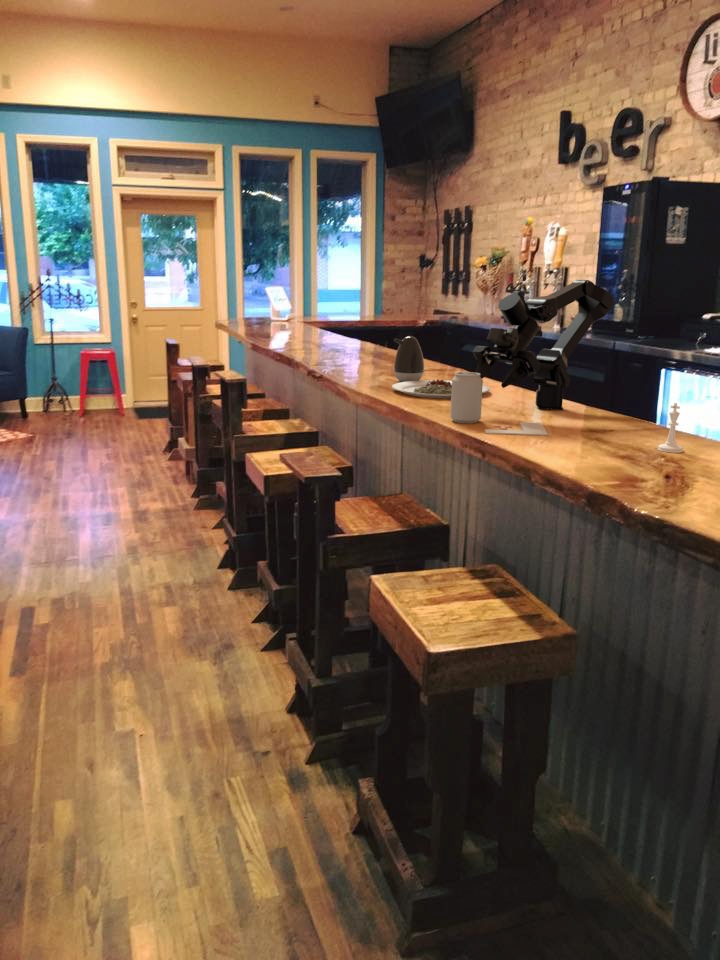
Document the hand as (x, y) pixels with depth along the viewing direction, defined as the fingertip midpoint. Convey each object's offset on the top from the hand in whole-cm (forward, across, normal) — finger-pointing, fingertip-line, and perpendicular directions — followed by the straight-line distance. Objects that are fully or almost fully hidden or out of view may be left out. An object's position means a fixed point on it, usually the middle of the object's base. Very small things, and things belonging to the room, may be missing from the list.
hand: (488, 384), depth 195 cm
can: (+12, 0, +1) cm, 12 cm away
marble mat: (+10, +13, +2) cm, 17 cm away
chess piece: (+3, +48, +9) cm, 49 cm away
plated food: (-8, -38, +21) cm, 45 cm away
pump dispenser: (-14, -61, +26) cm, 68 cm away
